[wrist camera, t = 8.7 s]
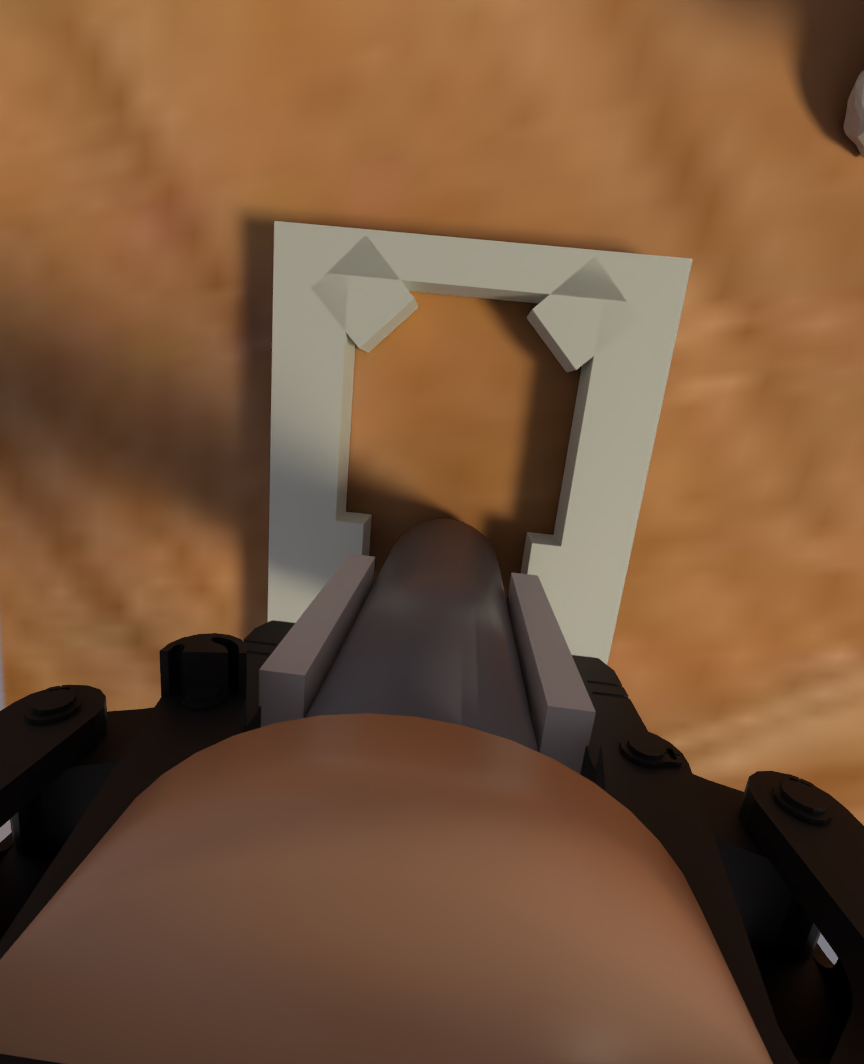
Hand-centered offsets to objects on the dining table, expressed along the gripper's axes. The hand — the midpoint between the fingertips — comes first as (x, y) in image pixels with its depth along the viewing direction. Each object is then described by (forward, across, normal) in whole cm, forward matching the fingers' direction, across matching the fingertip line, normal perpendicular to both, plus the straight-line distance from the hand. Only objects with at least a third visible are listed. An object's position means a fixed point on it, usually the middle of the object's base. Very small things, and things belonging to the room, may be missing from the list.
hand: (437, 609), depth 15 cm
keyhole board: (+4, 0, 0) cm, 4 cm away
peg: (+3, 0, 0) cm, 3 cm away
